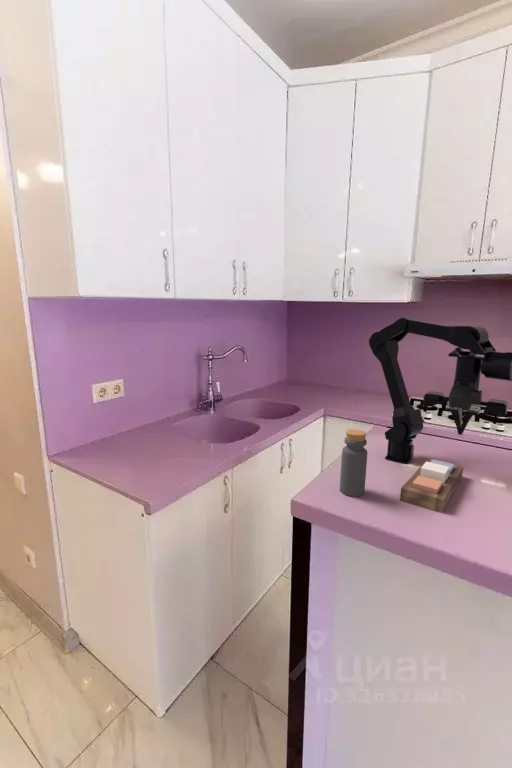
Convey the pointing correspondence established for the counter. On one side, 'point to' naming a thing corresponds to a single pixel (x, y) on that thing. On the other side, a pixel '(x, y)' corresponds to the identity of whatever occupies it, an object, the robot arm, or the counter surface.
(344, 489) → the bottle
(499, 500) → the counter surface
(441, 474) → the button cream
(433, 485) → the button terracotta
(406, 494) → the wooden compartment tray
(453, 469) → the button slate
